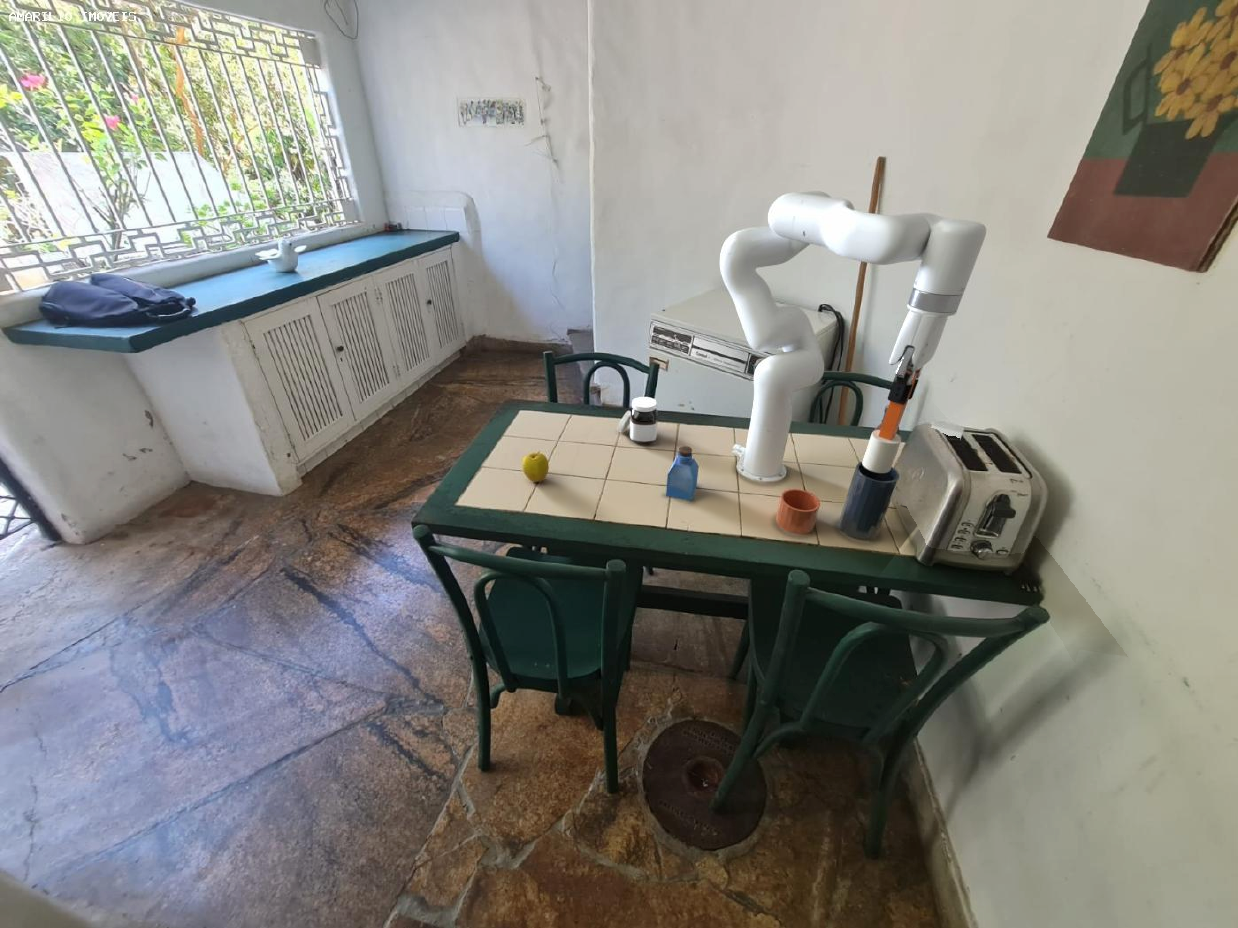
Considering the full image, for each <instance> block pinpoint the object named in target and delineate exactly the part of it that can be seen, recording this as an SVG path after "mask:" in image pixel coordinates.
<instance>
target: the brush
mask: <svg viewBox="0 0 1238 928" xmlns="http://www.w3.org/2000/svg"><path fill="white" fill-rule="evenodd" d="M906 372H907V373H909V375H910V372H909V371H906ZM917 375H918V373H917V372H915V375H914V377H913V380H912V383H911V384H912V385H913V386H914V383H915V380H916V379H917ZM913 386H912V388H911V391H912V389H913ZM911 391H910V394H911ZM910 394H909V397H910ZM909 397H908V399H907V402H906V404H904V405H902V404H899V403H895V402H892V401H889V404H888V405H889V406H888V409H887V412H886V415H885V418H884V421H883V424H882V427H881V430H875V429H874V430H875V431H874V430H873V431H872V432H871V435H870V438H869V439H868V444H867V446H866V450H865V453H864V456H863V459H862V461H861V462H862V464H863V466H864V467H865V468H866V469H868V470H870V471H873V472H876V473H887V472H889V471H890V470H891V467H893V464H894V462H895V459H896V456H897V454H898V451H899V448H900V445H901V443H902V437H901V435H900V436H899V435H897V434H896V432H897V430H898V427H899V428H900V425H901V421H902V418H903V416H904V413H905V411H906V408H907V406H908V402H909Z"/></svg>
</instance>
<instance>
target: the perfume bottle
mask: <svg viewBox="0 0 1238 928" xmlns="http://www.w3.org/2000/svg"><path fill="white" fill-rule="evenodd" d="M699 468H700V465H699V464H698V462H697V460H696V459H695V458H693V448H692V447H690V446H687V445H682V446H679V448H678V452H677V456H676V458H675V459H674V461H673V463H672V464H671V467H670V468H669V471H668V473H667V477H666V490H665V496H666V497H669V498H675V499H679V500H684V501H689V502H691V501H692V500H693V497H694V495H695V492H696V490H697V485H698V478H699V477H698V476H699V470H700V469H699Z"/></svg>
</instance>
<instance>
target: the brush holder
mask: <svg viewBox="0 0 1238 928" xmlns="http://www.w3.org/2000/svg"><path fill="white" fill-rule="evenodd" d="M820 508H821V500H820V499H819V498H818V496H817V495H815V494H813V493H812V492H810V491H807V490H804V489H800V488H799V489H798V488H790V489H787V490H786V489H785V490H784V491H782V493H781V496H780V499H779V503H778V507H777V511H776V515H775V521H776V524H777V525H778V526H779V527H780V528H781V529H782V530H783V531H785V532H788V533H791V534H795V535H805V534H808V533H811V532H812V531H813V530H814V527H815V526H816V525H815V524H816V520H817V517H818V514H819V510H820Z"/></svg>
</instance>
